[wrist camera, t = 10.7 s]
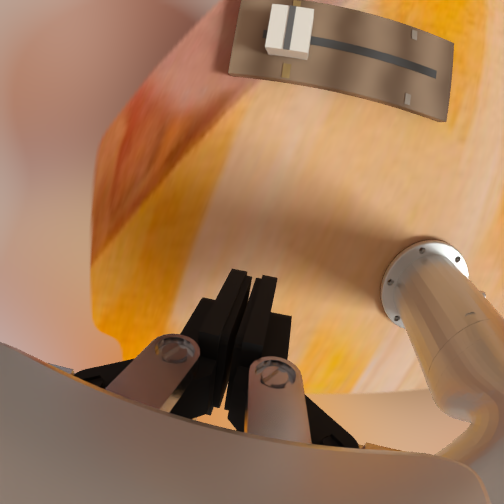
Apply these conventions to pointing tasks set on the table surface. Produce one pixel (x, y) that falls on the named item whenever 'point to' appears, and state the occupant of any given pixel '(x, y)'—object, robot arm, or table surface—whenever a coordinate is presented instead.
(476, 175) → the table surface
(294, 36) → the fader knob
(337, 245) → the table surface
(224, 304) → the robot arm
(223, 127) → the table surface
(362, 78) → the fader board
